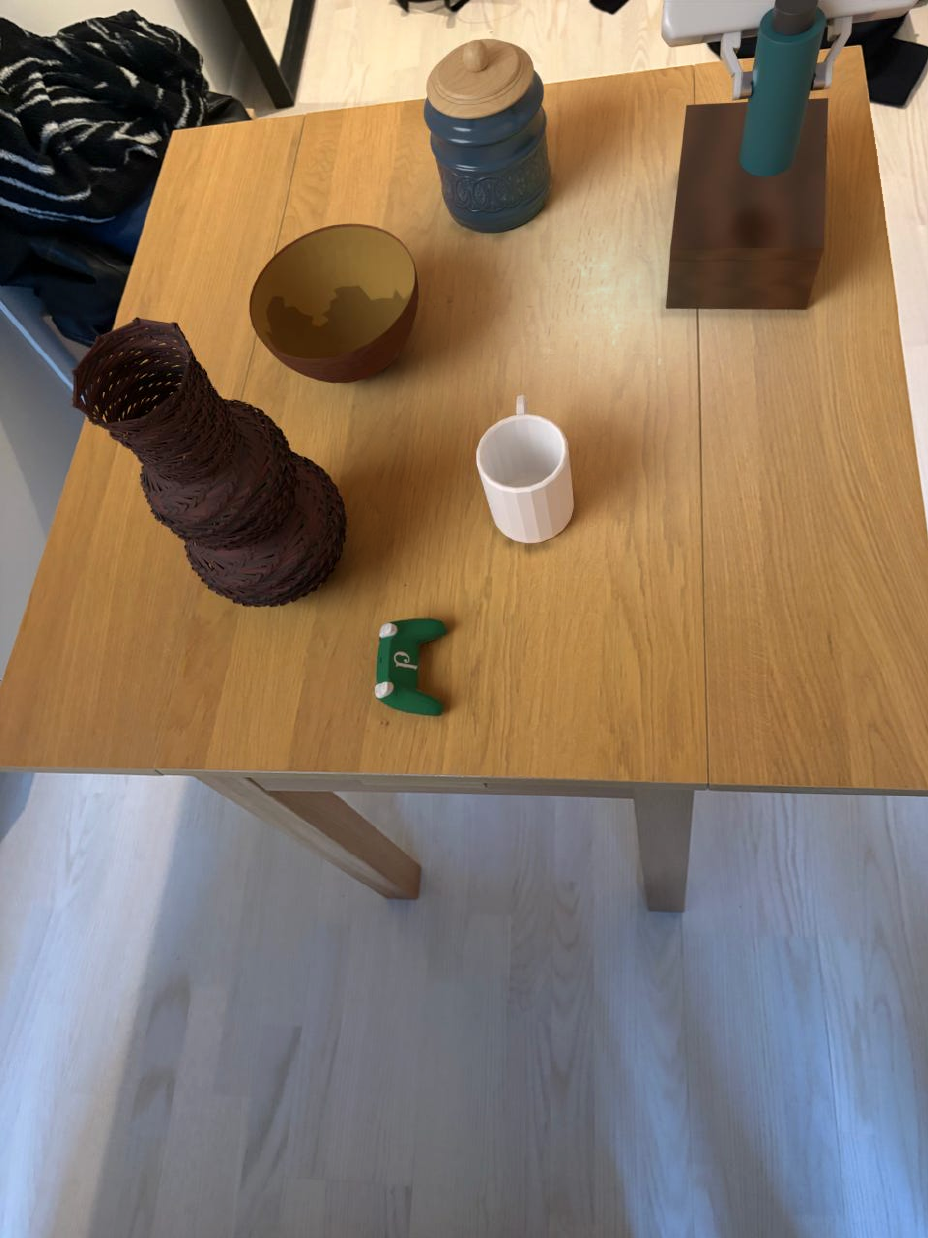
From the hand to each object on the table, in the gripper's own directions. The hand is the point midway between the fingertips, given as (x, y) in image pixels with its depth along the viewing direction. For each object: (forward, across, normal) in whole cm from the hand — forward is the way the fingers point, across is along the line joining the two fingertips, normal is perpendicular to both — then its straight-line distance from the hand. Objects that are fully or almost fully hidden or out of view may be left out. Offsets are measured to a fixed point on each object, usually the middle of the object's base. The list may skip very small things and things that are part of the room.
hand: (781, 93), depth 68 cm
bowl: (+20, -42, +7) cm, 47 cm away
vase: (+38, -46, -12) cm, 61 cm away
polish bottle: (+4, 0, +5) cm, 7 cm away
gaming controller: (+46, -32, -20) cm, 59 cm away
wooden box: (+10, -1, +16) cm, 19 cm away
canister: (+4, -28, +23) cm, 36 cm away
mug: (+32, -22, -6) cm, 40 cm away
